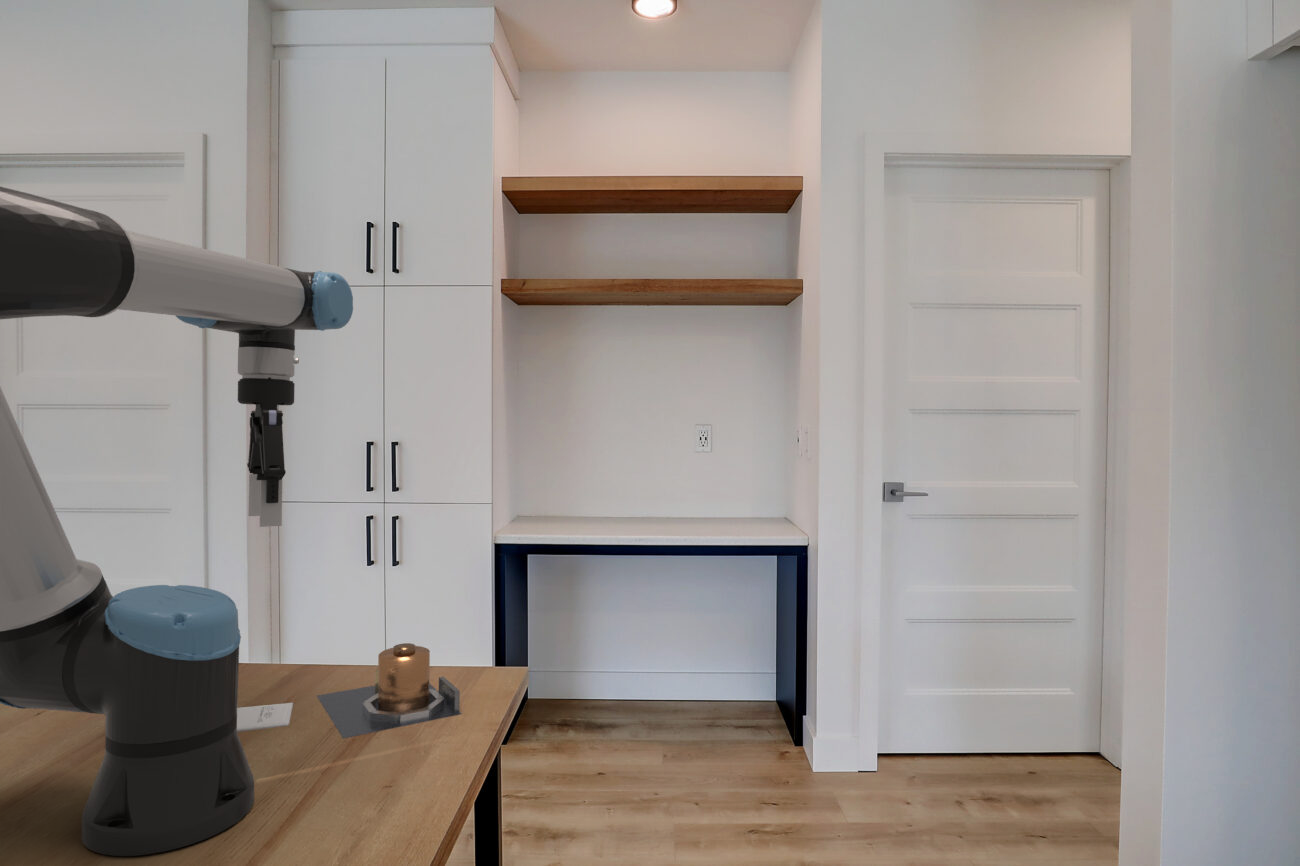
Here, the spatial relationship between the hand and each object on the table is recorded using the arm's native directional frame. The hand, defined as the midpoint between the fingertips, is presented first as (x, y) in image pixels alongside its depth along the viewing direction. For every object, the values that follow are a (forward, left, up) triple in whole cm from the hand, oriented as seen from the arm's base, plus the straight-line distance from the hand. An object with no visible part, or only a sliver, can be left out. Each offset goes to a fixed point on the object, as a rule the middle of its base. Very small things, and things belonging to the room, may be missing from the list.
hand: (264, 520), depth 111 cm
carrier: (-13, -15, -27) cm, 33 cm away
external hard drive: (-9, +4, -28) cm, 29 cm away
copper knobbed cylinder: (-16, -16, -26) cm, 35 cm away
